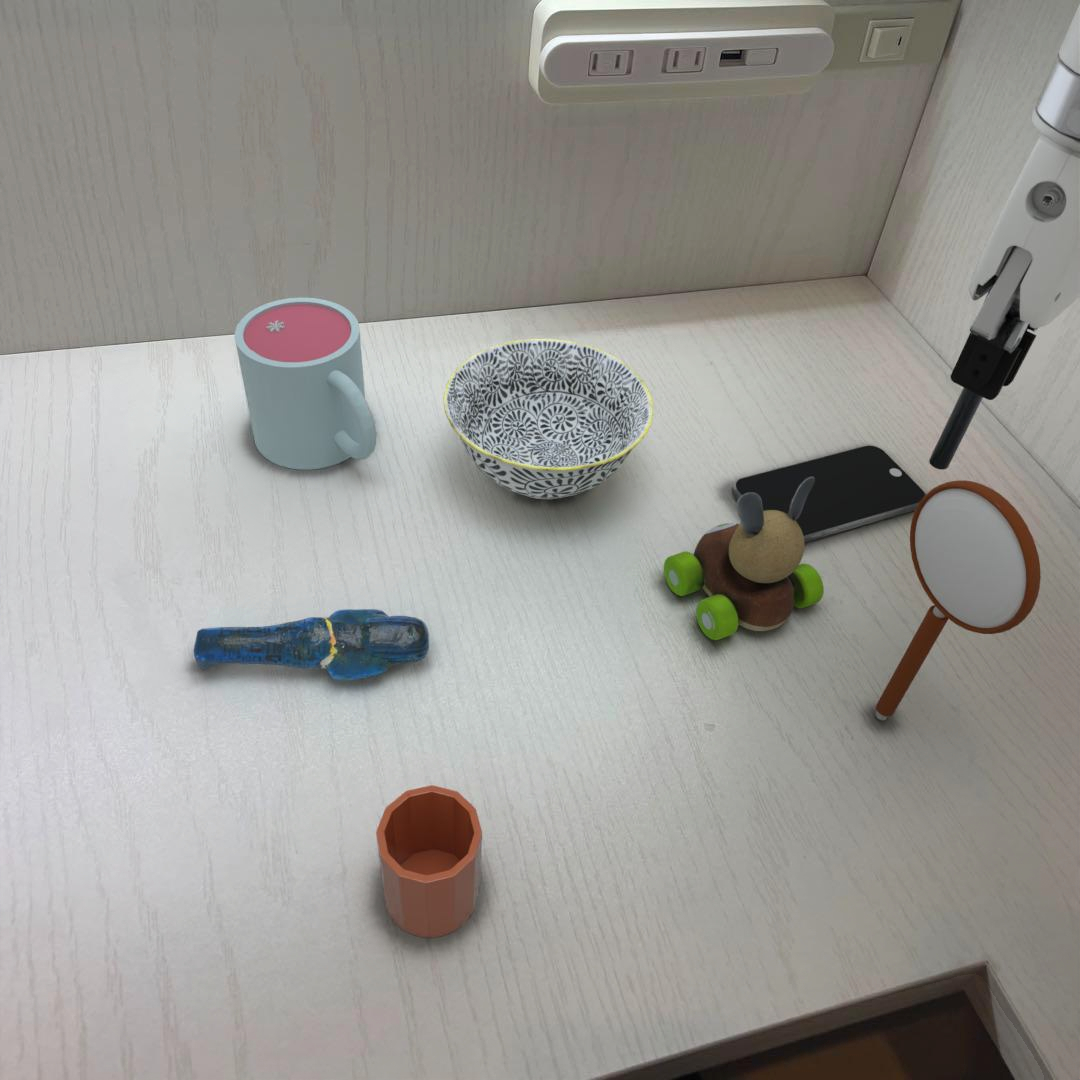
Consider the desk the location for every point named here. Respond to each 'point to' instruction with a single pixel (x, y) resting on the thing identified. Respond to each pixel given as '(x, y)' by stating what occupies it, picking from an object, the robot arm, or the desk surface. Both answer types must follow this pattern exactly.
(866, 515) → the smartphone
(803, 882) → the desk surface
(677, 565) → the toy car
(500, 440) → the bowl
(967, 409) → the stylus
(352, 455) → the mug
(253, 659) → the figurine
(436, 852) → the pen pot
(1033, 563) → the magnifying glass
